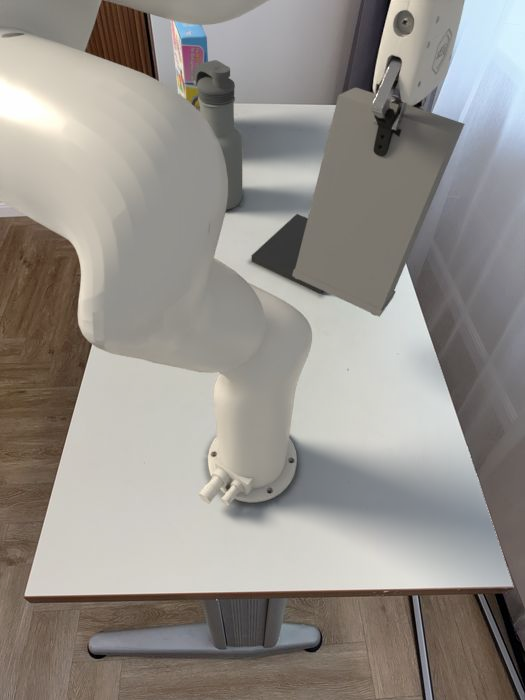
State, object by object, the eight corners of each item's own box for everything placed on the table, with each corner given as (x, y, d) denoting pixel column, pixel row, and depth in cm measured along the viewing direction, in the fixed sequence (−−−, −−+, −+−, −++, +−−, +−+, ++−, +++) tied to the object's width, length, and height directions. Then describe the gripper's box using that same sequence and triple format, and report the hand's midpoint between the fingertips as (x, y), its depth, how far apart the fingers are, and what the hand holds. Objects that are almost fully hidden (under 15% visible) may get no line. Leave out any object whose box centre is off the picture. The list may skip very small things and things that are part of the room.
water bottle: (189, 195, 114) (176, 61, 92) (225, 181, 118) (220, 50, 96) (214, 217, 109) (207, 81, 87) (251, 202, 113) (252, 68, 91)
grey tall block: (392, 298, 73) (467, 122, 57) (378, 318, 69) (455, 135, 52) (309, 260, 77) (356, 85, 60) (291, 277, 73) (336, 94, 56)
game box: (213, 160, 123) (207, 36, 102) (191, 162, 122) (180, 38, 101) (200, 120, 136) (192, 3, 115) (180, 122, 135) (168, 4, 114)
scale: (321, 294, 94) (323, 282, 92) (251, 261, 100) (251, 248, 97) (362, 247, 103) (365, 235, 101) (296, 219, 109) (297, 207, 106)
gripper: (438, -8, 40) (389, 191, 54) (505, -51, 49) (447, 130, 63) (355, -26, 43) (328, 169, 57) (433, -64, 52) (393, 112, 66)
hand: (391, 146), depth 60 cm, fingers closed on grey tall block, 4 cm apart
